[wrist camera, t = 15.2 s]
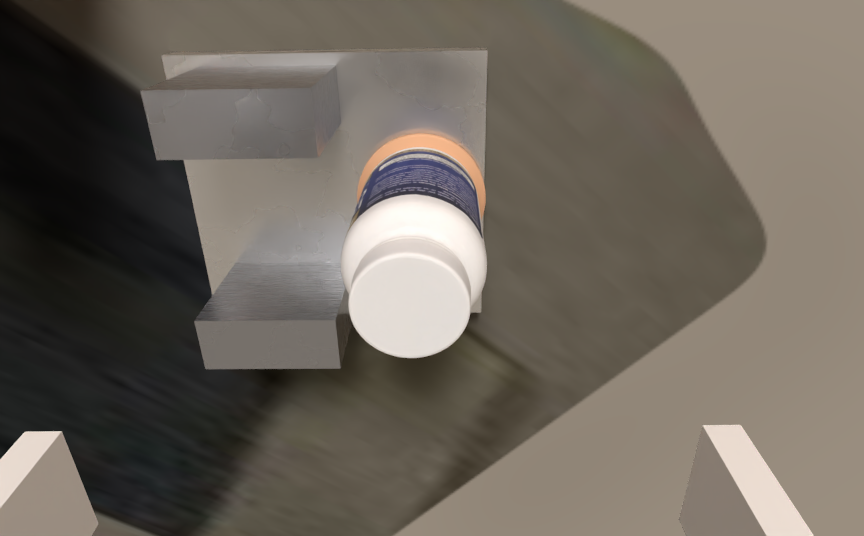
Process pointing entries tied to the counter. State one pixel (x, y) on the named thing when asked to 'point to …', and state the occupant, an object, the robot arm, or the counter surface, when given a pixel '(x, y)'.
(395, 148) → the disc
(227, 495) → the counter surface
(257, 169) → the metal plate with uprights
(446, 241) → the pill bottle
